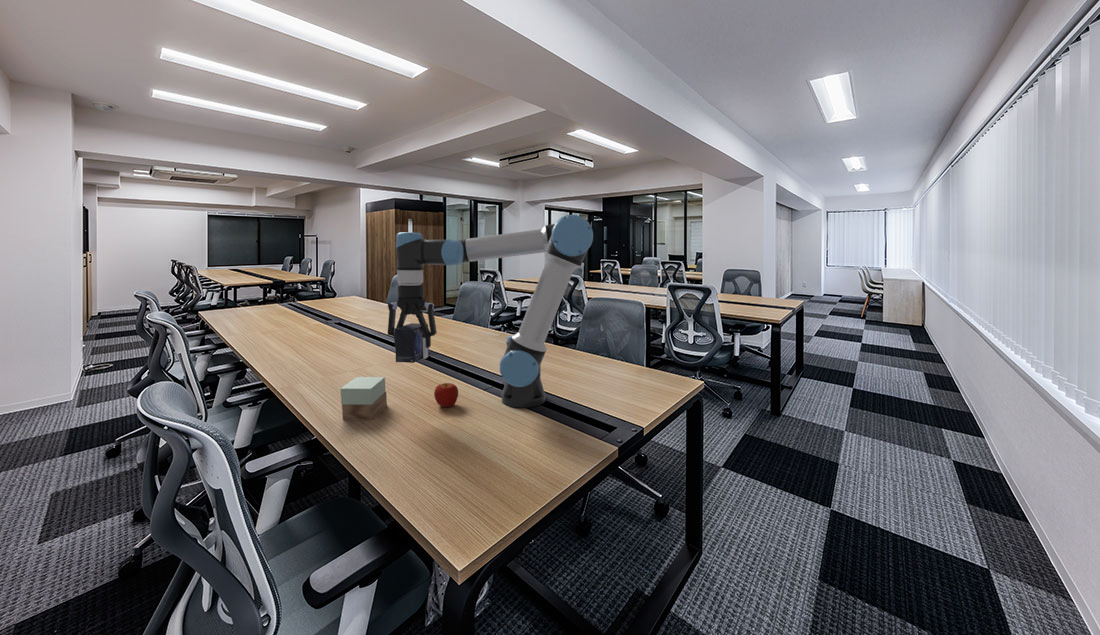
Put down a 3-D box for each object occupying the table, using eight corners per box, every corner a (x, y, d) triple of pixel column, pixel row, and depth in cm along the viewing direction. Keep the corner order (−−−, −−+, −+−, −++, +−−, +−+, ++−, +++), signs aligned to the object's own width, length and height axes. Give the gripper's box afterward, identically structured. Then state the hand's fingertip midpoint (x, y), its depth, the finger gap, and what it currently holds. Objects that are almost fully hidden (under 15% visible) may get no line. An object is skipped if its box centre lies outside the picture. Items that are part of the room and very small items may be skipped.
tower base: (386, 406, 141) (386, 391, 141) (372, 420, 130) (371, 404, 129) (359, 405, 141) (358, 391, 141) (342, 419, 129) (341, 404, 129)
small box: (415, 363, 127) (413, 328, 126) (395, 362, 128) (392, 328, 127) (430, 355, 138) (429, 323, 136) (412, 354, 139) (410, 322, 137)
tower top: (385, 391, 141) (384, 377, 140) (371, 404, 129) (370, 388, 128) (357, 391, 140) (357, 376, 140) (341, 404, 128) (340, 388, 128)
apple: (433, 410, 137) (433, 387, 136) (435, 402, 145) (434, 380, 144) (458, 409, 139) (458, 386, 138) (458, 401, 147) (458, 379, 145)
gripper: (446, 283, 133) (447, 354, 137) (382, 282, 133) (385, 354, 137) (440, 285, 126) (442, 360, 130) (372, 284, 126) (376, 360, 129)
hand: (413, 357), depth 133 cm, fingers closed on small box, 7 cm apart
